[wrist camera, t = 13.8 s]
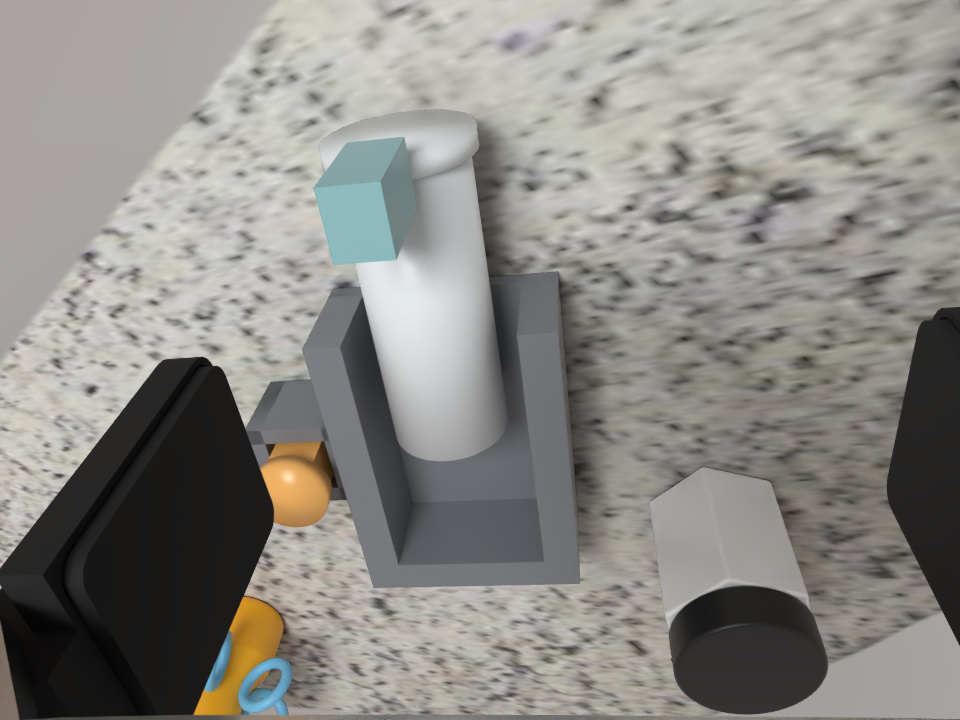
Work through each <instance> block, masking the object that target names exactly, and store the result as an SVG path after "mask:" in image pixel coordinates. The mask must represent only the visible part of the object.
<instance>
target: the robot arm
mask: <svg viewBox="0 0 960 720" xmlns="http://www.w3.org/2000/svg"><path fill="white" fill-rule="evenodd" d="M887 495H888V500H889V504H890V507H891V509H892V511H893V513H894V515H895V517H896V519H897V521H898V523H899V525H900V527H901V529H902V531H903V533H904V535H905V537H906V539H907V541H908V543H909V545H910V547H911V549H912V551H913V553H914V555H915V557H916V559H917V561H918V563H919V565H920V567H921V569H922V571H923V573H924V575H925V577H926V579H927V581H928V583H929V585H930V587H931V589H932V591H933V593H934V595H935V597H936V599H937V601H938V603H939V605H940V607H941V609H942V611H943V613H944V615H945V617H946V619H947V621H948V623H949V625H950V627H951V629H952V631H953V633H954V635H955V637H956V639H957V641H958V643H959V645H960V307H953V308H941V309H940V310H938V311H937V313H936V314H935V316H934V318H933V320H929V321H924V322H922V323H921V325H920V326H919V329H918V332H917V337H916V342H915V347H914V352H913V356H912V361H911V366H910V371H909V376H908V381H907V386H906V391H905V395H904V400H903V405H902V410H901V415H900V420H899V425H898V430H897V434H896V439H895V444H894V449H893V454H892V459H891V464H890V469H889V473H888V478H887ZM273 522H274V506H273V502H272V499H271V497H270V494H269V491H268V489H267V486H266V483H265V480H264V478H263V475H262V472H261V470H260V467H259V464H258V462H257V459H256V456H255V454H254V451H253V448H252V445H251V443H250V440H249V437H248V435H247V432H246V429H245V427H244V424H243V421H242V419H241V416H240V413H239V410H238V408H237V405H236V402H235V400H234V397H233V394H232V392H231V389H230V386H229V384H228V381H227V378H226V375H225V373H224V371H223V370H222V369H221V368H220V367H218V366H212V364H211V362H210V361H209V360H208V359H207V358H204V357H193V358H178V359H166V360H163V361H162V362H160V363H159V364H158V366H157V367H156V368H155V369H154V371H153V372H152V373H151V375H150V376H149V377H148V378H147V380H146V381H145V382H144V384H143V385H142V386H141V387H140V389H139V390H138V391H137V393H136V394H135V395H134V397H133V398H132V399H131V400H130V402H129V403H128V404H127V406H126V407H125V408H124V409H123V411H122V412H121V413H120V415H119V416H118V417H117V418H116V420H115V421H114V422H113V424H112V425H111V426H110V427H109V429H108V430H107V431H106V433H105V434H104V435H103V436H102V438H101V439H100V440H99V442H98V443H97V444H96V445H95V447H94V448H93V449H92V451H91V452H90V453H89V455H88V456H87V457H86V458H85V460H84V461H83V462H82V464H81V465H80V466H79V467H78V469H77V470H76V471H75V473H74V474H73V475H72V476H71V478H70V479H69V480H68V482H67V483H66V484H65V485H64V487H63V488H62V489H61V491H60V492H59V493H58V494H57V496H56V497H55V498H54V500H53V501H52V502H51V504H50V505H49V506H48V507H47V509H46V510H45V511H44V513H43V514H42V515H41V516H40V518H39V519H38V520H37V522H36V523H35V524H34V525H33V527H32V528H31V529H30V531H29V532H28V533H27V534H26V536H25V537H24V538H23V540H22V541H21V542H20V543H19V545H18V546H17V547H16V549H15V550H14V551H13V553H12V554H11V555H10V556H9V558H8V559H7V560H6V562H5V563H4V564H3V565H2V567H1V568H0V585H1V587H2V588H1V590H0V720H959V719H921V718H918V719H917V718H839V717H833V718H832V717H730V716H726V717H725V716H593V715H194V712H195V710H196V707H197V705H198V703H199V700H200V698H201V696H202V693H203V691H204V689H205V686H206V684H207V681H208V679H209V677H210V674H211V672H212V670H213V667H214V665H215V662H216V660H217V658H218V655H219V653H220V651H221V648H222V646H223V644H224V641H225V639H226V636H227V634H228V632H229V629H230V627H231V625H232V622H233V620H234V617H235V615H236V613H237V610H238V608H239V606H240V603H241V601H242V599H243V596H244V594H245V591H246V589H247V587H248V584H249V582H250V580H251V577H252V575H253V572H254V570H255V568H256V565H257V563H258V561H259V558H260V556H261V553H262V551H263V549H264V546H265V544H266V542H267V539H268V537H269V535H270V532H271V530H272V527H273Z"/></svg>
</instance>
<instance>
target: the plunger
mask: <svg viewBox="0 0 960 720" xmlns="http://www.w3.org/2000/svg"><path fill="white" fill-rule="evenodd" d="M260 470H261V472H262V475H263V478H264V480H265V483H266V486H267V489H268V491H269V494H270V497H271V499H272V502H273V506H274V522H275V523H278V524H281V525H284V526H289V527H305V526H309V525H312V524H314V523H316V522H318V521H319V520H320V519H321V518H322V517H323V516H324V514H325V513H326V510H327V507H328V504H329V501H330V499H331V496H332V484H331V480H332V477H333V475H334V472H333V469H332V465H331V462H330V459H329V455H328V452H327V449H326V446H325V442H324V441H320V442H300V443H279V444H276V445H275V447H274V449H273V451H272V453H271V455H270V457H269V459H268V460H267V461H266V462H264V463H263V464H262V465H261V467H260Z"/></svg>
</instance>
